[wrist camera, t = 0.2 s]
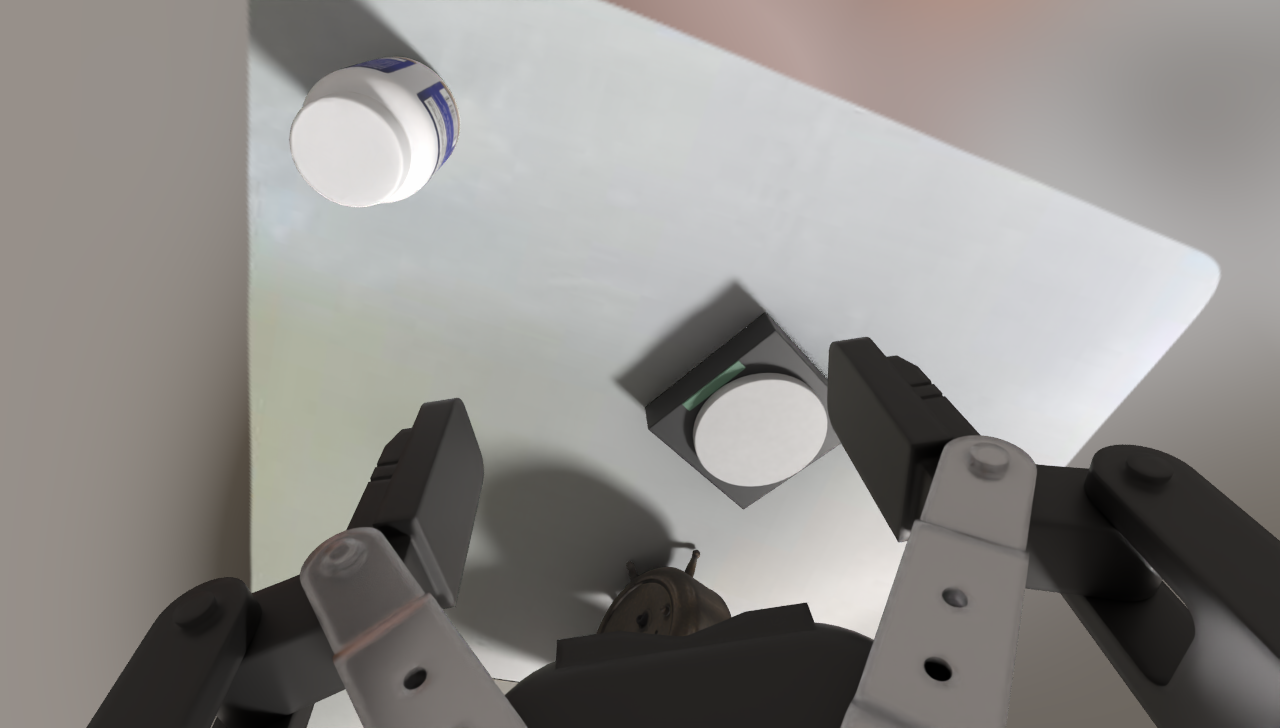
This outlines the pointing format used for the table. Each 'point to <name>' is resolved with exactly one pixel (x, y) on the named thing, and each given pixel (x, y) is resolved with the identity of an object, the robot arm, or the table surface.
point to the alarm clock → (664, 603)
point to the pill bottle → (374, 131)
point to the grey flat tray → (505, 685)
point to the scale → (748, 414)
